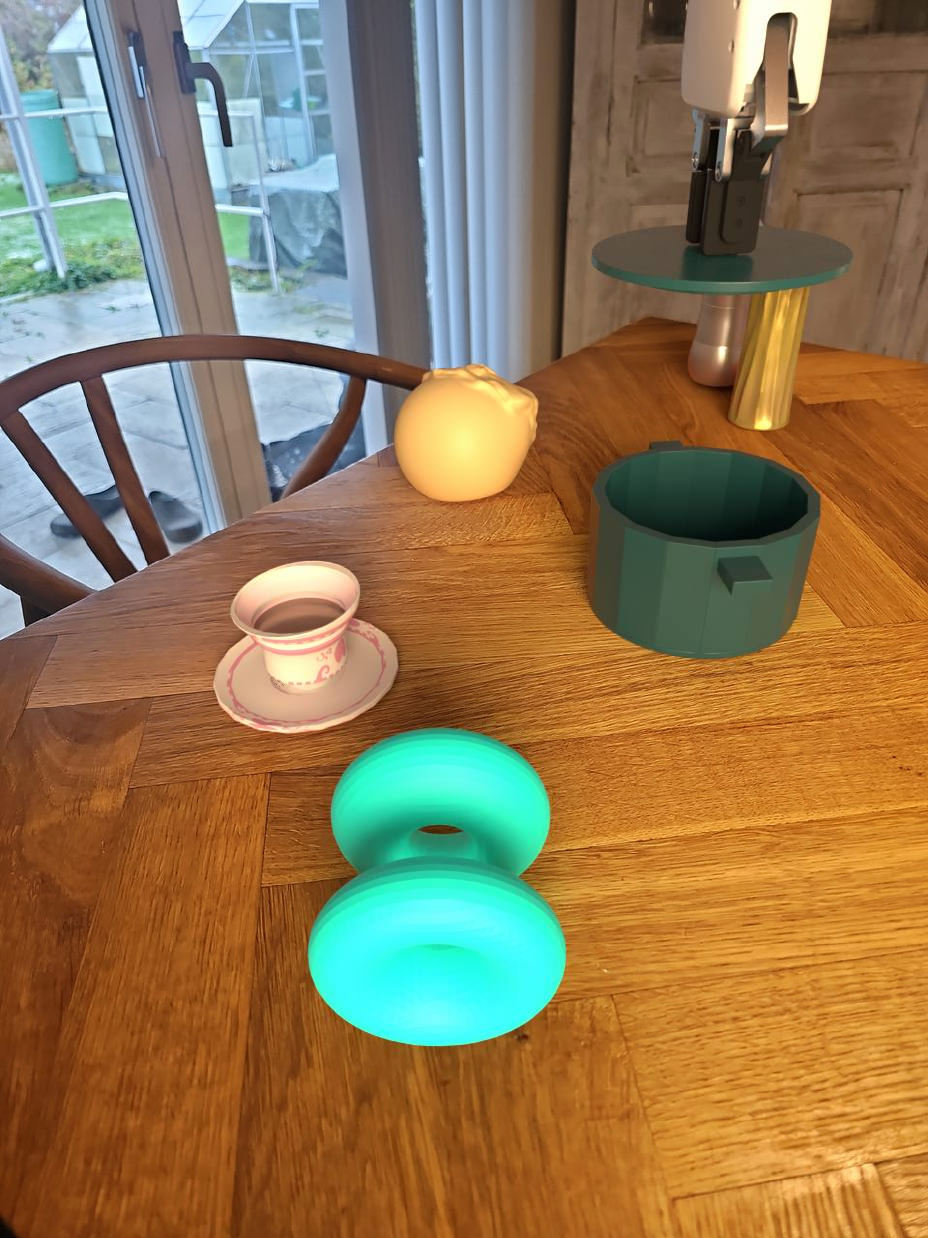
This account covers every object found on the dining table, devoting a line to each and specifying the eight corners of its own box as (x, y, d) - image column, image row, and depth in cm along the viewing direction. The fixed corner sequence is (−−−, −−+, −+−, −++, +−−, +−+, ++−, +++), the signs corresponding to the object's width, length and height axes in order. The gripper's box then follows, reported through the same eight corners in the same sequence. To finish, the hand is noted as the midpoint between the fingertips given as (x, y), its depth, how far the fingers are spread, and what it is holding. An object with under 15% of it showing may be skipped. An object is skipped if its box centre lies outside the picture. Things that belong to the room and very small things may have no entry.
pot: (742, 524, 70) (759, 426, 65) (847, 677, 53) (881, 562, 49) (566, 535, 69) (570, 437, 64) (618, 693, 53) (629, 578, 48)
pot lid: (789, 236, 60) (804, 144, 57) (898, 294, 47) (926, 180, 44) (570, 249, 59) (573, 157, 56) (621, 312, 47) (628, 198, 43)
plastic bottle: (698, 369, 100) (723, 180, 88) (754, 380, 97) (788, 185, 85) (675, 386, 96) (698, 190, 84) (733, 398, 92) (765, 195, 81)
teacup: (348, 755, 49) (336, 673, 46) (176, 713, 53) (152, 633, 49) (427, 638, 58) (421, 561, 55) (275, 608, 62) (260, 534, 58)
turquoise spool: (321, 1062, 35) (283, 913, 29) (347, 864, 43) (322, 716, 37) (564, 1058, 35) (575, 906, 29) (544, 859, 43) (550, 710, 37)
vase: (746, 404, 91) (770, 263, 82) (800, 419, 87) (830, 273, 79) (715, 421, 87) (736, 276, 79) (769, 437, 84) (798, 286, 75)
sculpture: (554, 478, 78) (557, 362, 72) (471, 530, 70) (467, 405, 64) (458, 448, 84) (454, 338, 78) (373, 493, 77) (361, 376, 70)
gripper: (928, -187, 35) (834, 275, 46) (781, -131, 49) (734, 218, 59) (751, -180, 35) (698, 284, 46) (652, -126, 48) (628, 225, 59)
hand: (719, 244), depth 52 cm, fingers closed on pot lid, 2 cm apart
